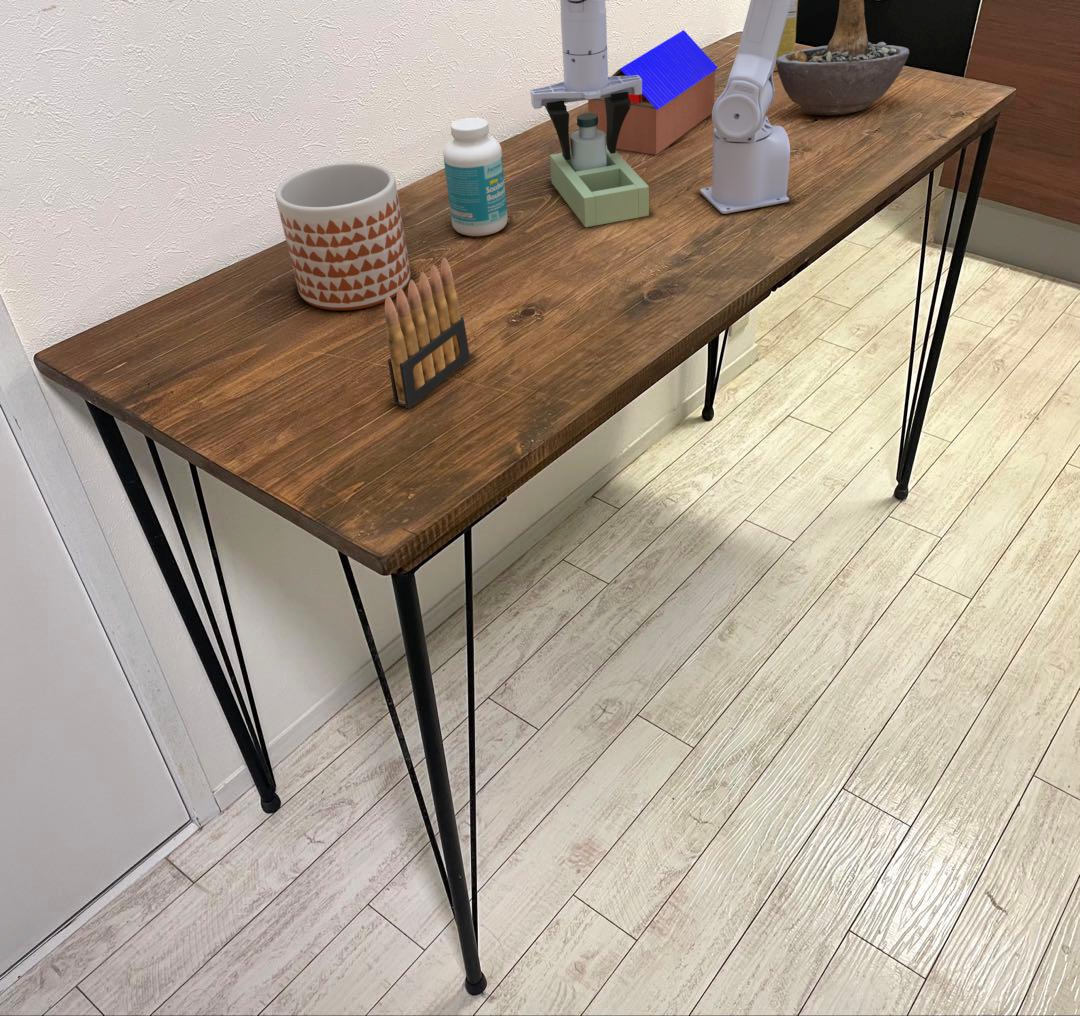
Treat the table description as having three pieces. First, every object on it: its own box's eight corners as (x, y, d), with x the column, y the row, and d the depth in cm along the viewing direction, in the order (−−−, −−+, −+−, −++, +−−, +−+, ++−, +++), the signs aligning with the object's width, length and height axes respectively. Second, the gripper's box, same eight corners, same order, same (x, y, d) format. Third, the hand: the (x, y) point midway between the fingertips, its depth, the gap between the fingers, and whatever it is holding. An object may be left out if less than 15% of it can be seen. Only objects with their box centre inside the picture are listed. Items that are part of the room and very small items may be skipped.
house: (716, 111, 162) (719, 33, 154) (657, 156, 149) (657, 73, 142) (649, 102, 167) (649, 26, 160) (586, 144, 155) (583, 64, 147)
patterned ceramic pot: (379, 318, 117) (359, 213, 109) (277, 305, 122) (251, 203, 113) (429, 265, 127) (414, 164, 119) (334, 254, 131) (313, 157, 123)
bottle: (602, 180, 144) (600, 108, 137) (611, 193, 140) (609, 119, 134) (569, 185, 143) (565, 113, 137) (577, 198, 140) (573, 124, 133)
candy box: (756, 57, 181) (762, -39, 172) (780, 54, 181) (787, -41, 172) (769, 72, 175) (775, -26, 165) (793, 69, 175) (802, -29, 165)
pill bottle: (501, 239, 131) (490, 134, 123) (446, 238, 133) (431, 134, 124) (514, 215, 137) (504, 113, 128) (461, 213, 138) (448, 113, 130)
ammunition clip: (457, 354, 110) (442, 251, 102) (470, 358, 109) (457, 255, 102) (394, 404, 103) (373, 298, 96) (408, 409, 103) (388, 302, 95)
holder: (610, 172, 146) (609, 144, 143) (649, 215, 134) (649, 186, 131) (551, 182, 144) (549, 154, 142) (585, 227, 132) (583, 198, 130)
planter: (766, 119, 157) (776, -23, 145) (820, 87, 167) (834, -49, 154) (855, 137, 149) (874, -12, 137) (906, 102, 159) (928, -40, 146)
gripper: (534, 65, 126) (542, 172, 135) (648, 50, 128) (648, 157, 136) (524, 49, 132) (532, 153, 140) (633, 35, 133) (634, 139, 142)
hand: (588, 154), depth 139 cm, fingers open, 6 cm apart
